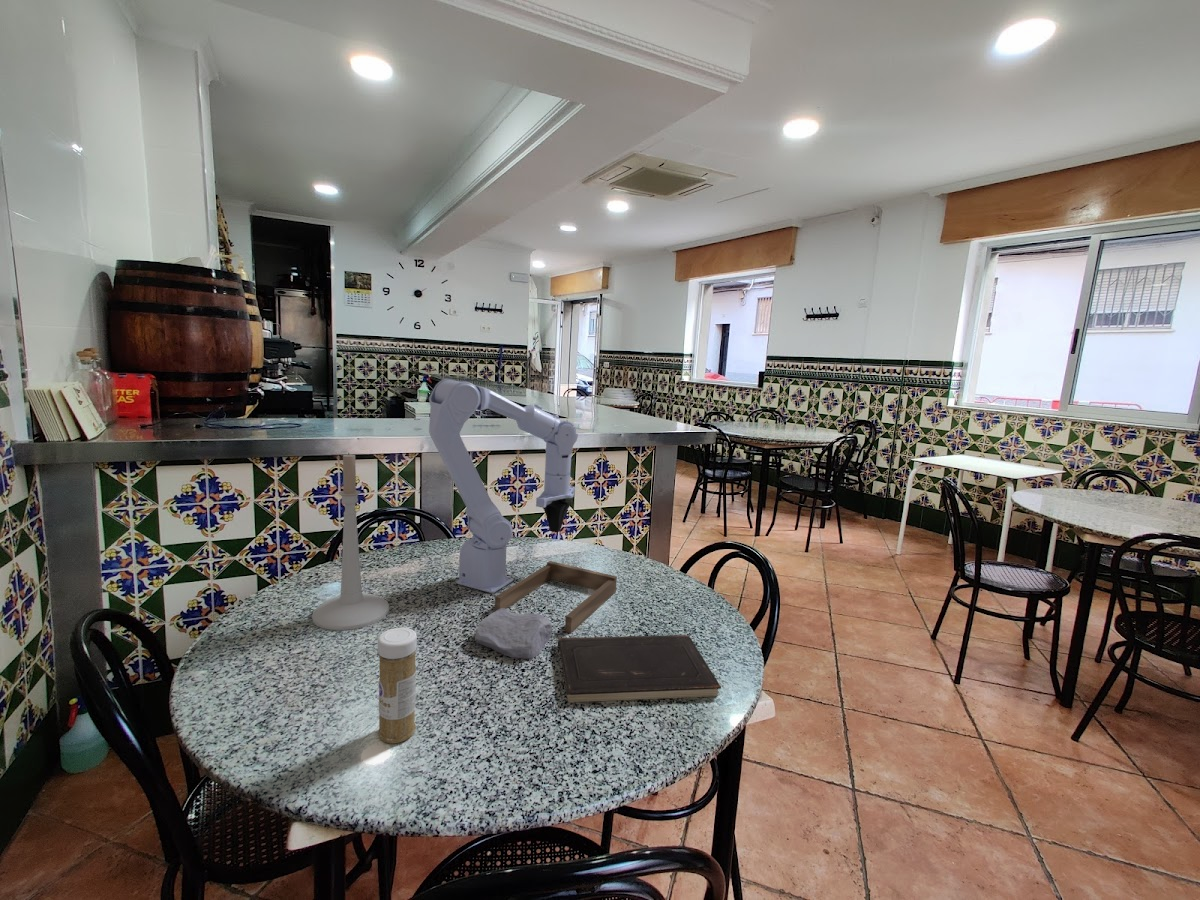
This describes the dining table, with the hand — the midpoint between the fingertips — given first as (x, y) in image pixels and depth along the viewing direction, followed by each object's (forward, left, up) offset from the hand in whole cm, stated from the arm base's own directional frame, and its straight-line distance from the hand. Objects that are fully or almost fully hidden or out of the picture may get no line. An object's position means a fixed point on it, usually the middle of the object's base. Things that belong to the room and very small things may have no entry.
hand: (554, 531), depth 124 cm
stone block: (+10, -32, -10) cm, 35 cm away
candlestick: (-21, -38, -10) cm, 44 cm away
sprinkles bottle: (+10, -58, -10) cm, 60 cm away
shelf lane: (+9, -14, -9) cm, 19 cm away
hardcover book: (+31, -29, -10) cm, 44 cm away
